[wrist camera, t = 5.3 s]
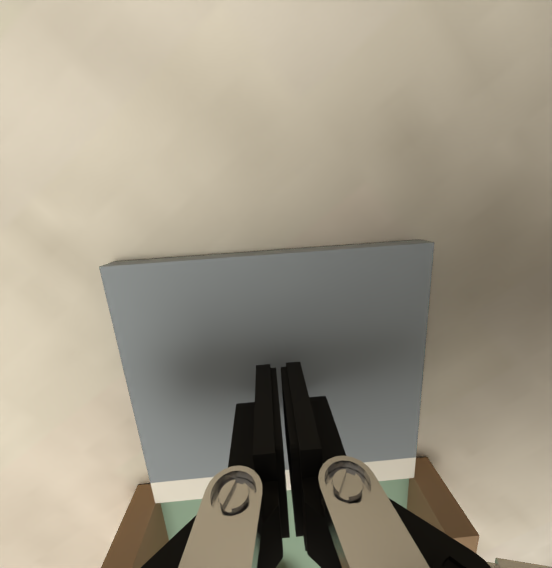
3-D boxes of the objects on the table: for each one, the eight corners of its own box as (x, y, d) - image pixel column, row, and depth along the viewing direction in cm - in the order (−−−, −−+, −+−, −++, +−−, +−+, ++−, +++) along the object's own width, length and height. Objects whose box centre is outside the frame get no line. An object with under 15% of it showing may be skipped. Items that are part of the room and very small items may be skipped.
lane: (448, 237, 11) (547, 253, 7) (412, 601, 17) (457, 716, 13) (81, 263, 11) (-20, 295, 7) (174, 628, 17) (147, 756, 13)
